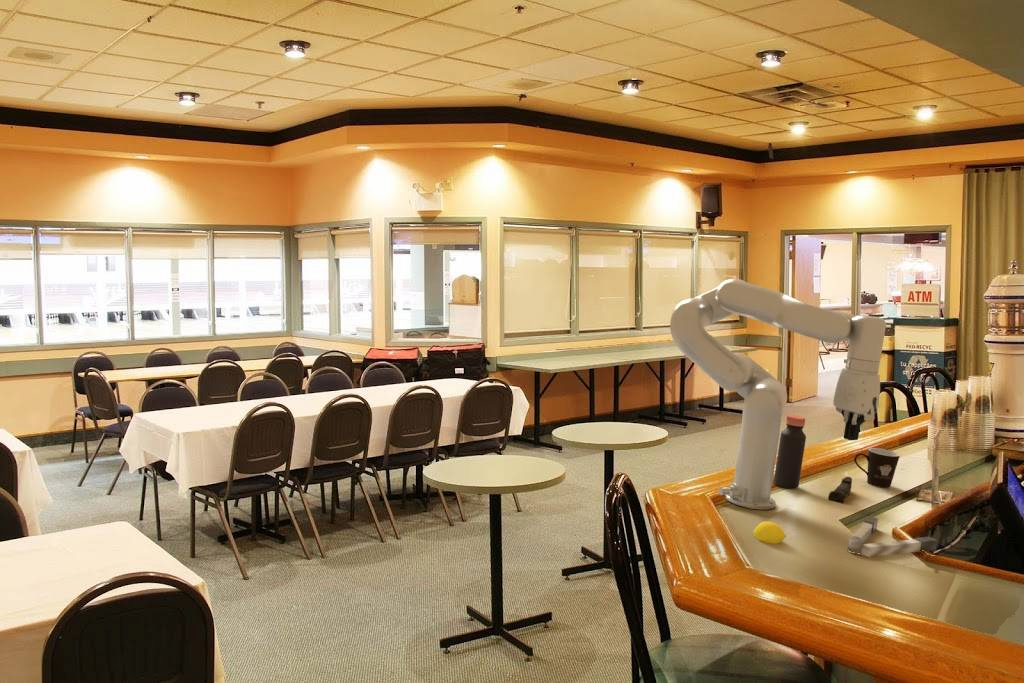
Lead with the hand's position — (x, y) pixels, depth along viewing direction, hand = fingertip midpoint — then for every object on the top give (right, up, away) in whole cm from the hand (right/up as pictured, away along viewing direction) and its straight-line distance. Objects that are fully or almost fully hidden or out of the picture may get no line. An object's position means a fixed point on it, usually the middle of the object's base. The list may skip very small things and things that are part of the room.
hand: (850, 439), depth 202 cm
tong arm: (-2, -21, -12) cm, 24 cm away
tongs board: (0, -23, -14) cm, 27 cm away
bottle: (-6, -17, +31) cm, 36 cm away
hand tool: (+7, -19, +25) cm, 32 cm away
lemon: (-27, -21, -20) cm, 40 cm away
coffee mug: (+25, -19, +44) cm, 53 cm away
